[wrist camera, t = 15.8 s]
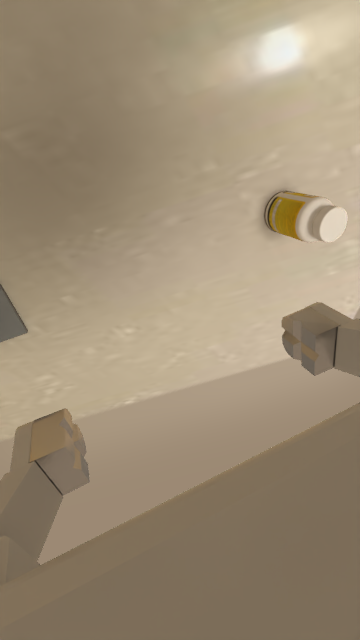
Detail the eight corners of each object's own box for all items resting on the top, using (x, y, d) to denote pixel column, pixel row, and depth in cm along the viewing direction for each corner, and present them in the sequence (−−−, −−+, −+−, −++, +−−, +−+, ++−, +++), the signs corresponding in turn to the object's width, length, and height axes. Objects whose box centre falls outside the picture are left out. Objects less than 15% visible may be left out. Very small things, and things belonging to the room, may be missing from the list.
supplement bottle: (268, 238, 44) (317, 257, 36) (259, 202, 41) (310, 214, 33) (299, 220, 45) (354, 234, 36) (293, 183, 41) (351, 190, 33)
